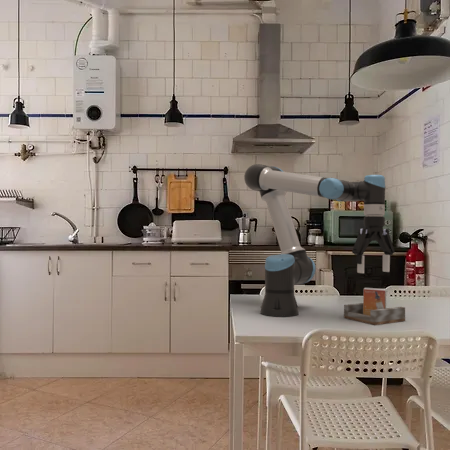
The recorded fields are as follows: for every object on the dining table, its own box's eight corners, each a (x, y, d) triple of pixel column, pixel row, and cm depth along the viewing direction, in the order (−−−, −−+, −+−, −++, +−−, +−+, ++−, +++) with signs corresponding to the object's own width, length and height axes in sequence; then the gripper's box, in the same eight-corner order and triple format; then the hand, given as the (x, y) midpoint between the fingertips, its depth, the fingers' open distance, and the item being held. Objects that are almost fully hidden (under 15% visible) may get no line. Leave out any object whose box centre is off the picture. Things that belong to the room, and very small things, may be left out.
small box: (362, 317, 169) (362, 288, 169) (364, 314, 174) (364, 287, 174) (385, 318, 166) (385, 290, 166) (386, 316, 171) (386, 288, 171)
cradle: (374, 325, 159) (374, 311, 159) (344, 318, 172) (344, 304, 172) (405, 320, 167) (405, 307, 167) (373, 314, 180) (373, 301, 180)
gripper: (358, 214, 161) (357, 274, 160) (404, 216, 173) (404, 272, 173) (342, 215, 167) (342, 272, 167) (388, 217, 179) (388, 270, 179)
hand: (373, 272), depth 170 cm, fingers open, 13 cm apart
